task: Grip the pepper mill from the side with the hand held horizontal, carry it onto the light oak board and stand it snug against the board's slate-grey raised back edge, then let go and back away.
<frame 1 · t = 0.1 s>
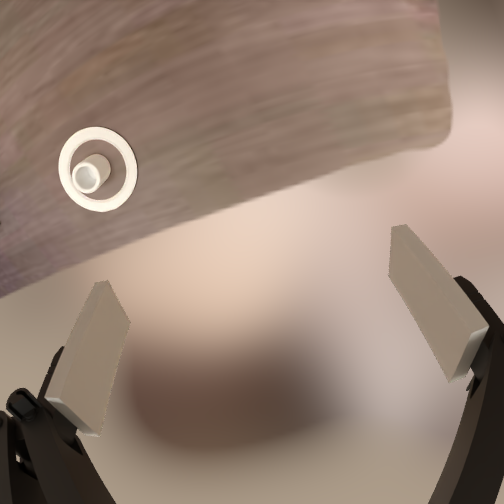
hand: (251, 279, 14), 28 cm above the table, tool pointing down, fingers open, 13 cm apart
candle holder: (98, 168, 39), on the table
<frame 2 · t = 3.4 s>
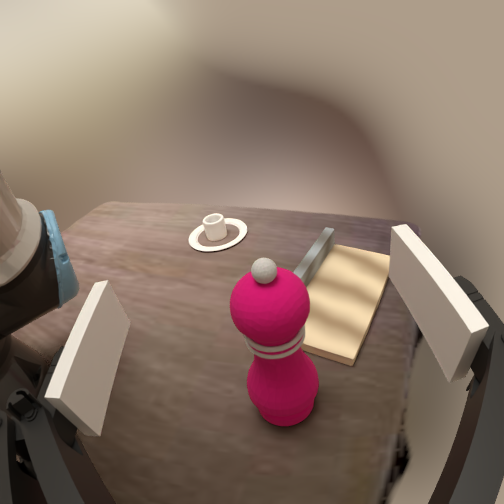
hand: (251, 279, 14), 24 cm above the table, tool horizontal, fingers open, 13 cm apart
candle holder: (218, 237, 65), on the table
pepper mill: (286, 403, 33), on the table
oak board: (338, 297, 45), on the table
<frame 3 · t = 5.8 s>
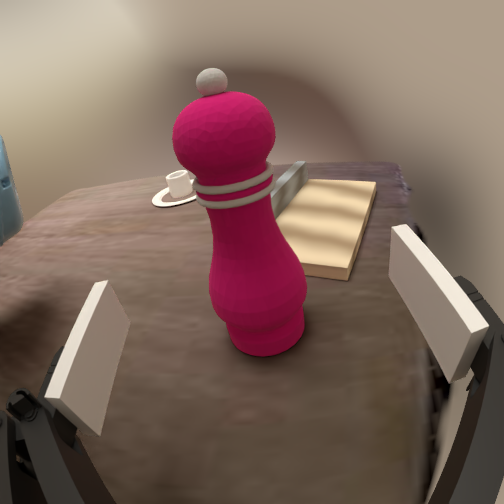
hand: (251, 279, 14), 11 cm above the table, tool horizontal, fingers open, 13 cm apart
candle holder: (183, 195, 58), on the table
pepper mill: (267, 329, 26), on the table
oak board: (318, 222, 39), on the table
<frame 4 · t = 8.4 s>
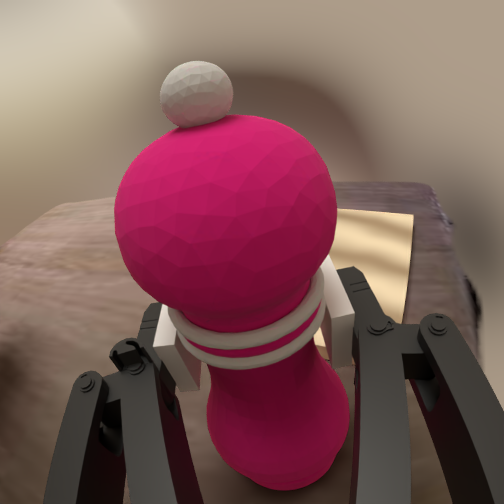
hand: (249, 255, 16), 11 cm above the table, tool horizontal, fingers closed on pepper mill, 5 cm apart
pepper mill: (287, 448, 17), on the table, touching gripper
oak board: (347, 273, 30), on the table
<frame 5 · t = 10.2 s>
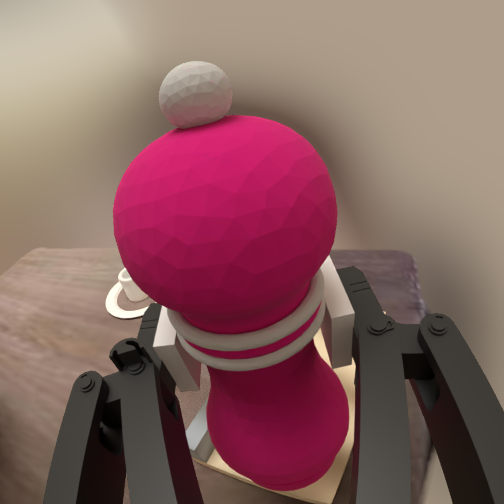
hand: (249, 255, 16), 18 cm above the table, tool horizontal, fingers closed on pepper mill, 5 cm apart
candle holder: (142, 295, 47), on the table
pepper mill: (287, 448, 17), point 7 cm above the table, touching gripper
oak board: (304, 389, 28), on the table
when the fingers open (13 cm above the table, at t = 12.0 s): pepper mill stays where it is, resting on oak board.
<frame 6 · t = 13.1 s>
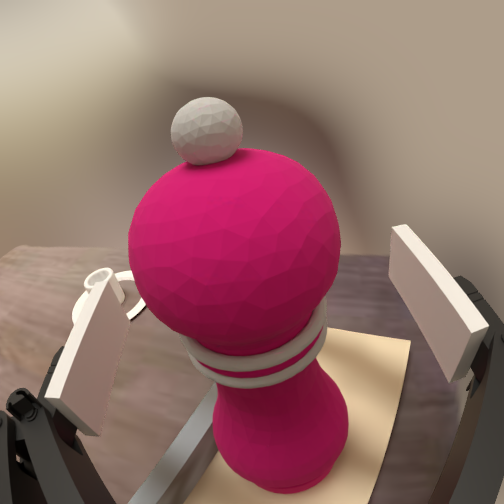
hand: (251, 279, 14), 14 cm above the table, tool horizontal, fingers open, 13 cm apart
candle holder: (113, 304, 38), on the table
pepper mill: (288, 453, 18), point 1 cm above the table, touching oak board
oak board: (297, 447, 19), on the table
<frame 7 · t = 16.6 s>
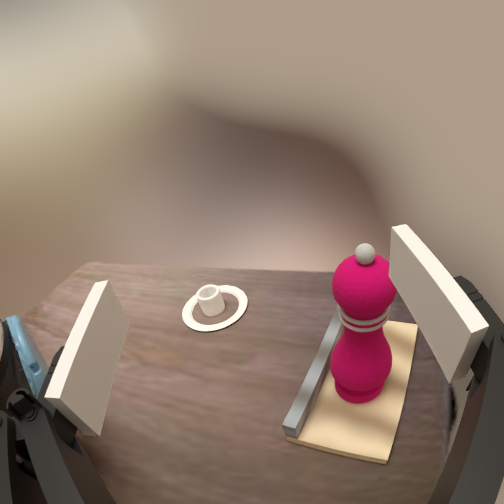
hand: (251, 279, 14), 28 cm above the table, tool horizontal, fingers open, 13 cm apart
candle holder: (215, 310, 57), on the table
pepper mill: (359, 383, 36), point 1 cm above the table, touching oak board
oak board: (361, 383, 37), on the table
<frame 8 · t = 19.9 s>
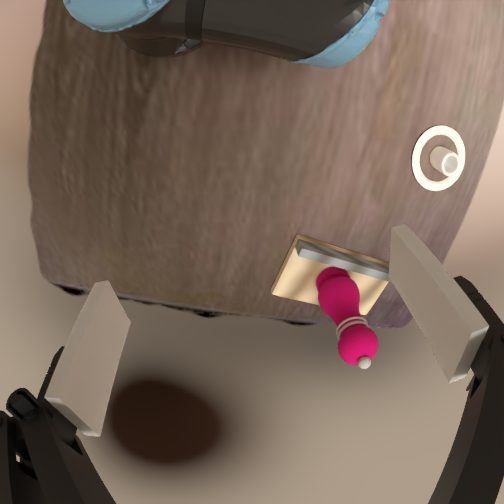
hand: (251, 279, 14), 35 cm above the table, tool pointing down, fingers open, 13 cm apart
candle holder: (437, 157, 47), on the table
pepper mill: (332, 279, 57), point 1 cm above the table, touching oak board
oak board: (334, 276, 58), on the table
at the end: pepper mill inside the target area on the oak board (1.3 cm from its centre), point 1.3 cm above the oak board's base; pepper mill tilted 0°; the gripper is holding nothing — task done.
